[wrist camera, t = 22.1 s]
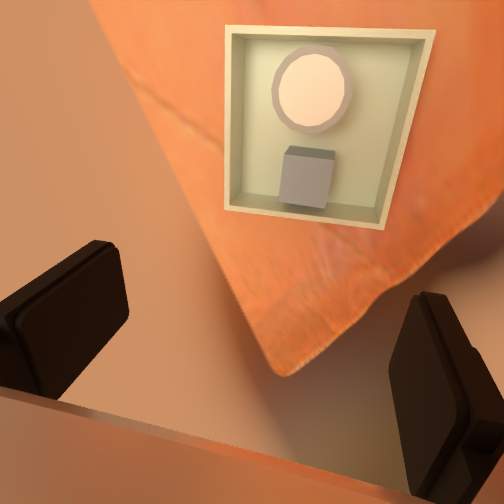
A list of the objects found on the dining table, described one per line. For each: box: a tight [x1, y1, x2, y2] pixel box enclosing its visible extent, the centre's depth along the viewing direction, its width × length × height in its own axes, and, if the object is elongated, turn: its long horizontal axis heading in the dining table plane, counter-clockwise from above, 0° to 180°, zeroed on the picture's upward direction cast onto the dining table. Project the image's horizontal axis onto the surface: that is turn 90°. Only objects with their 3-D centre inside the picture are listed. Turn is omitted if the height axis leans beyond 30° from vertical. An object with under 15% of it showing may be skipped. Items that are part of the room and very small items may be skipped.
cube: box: [278, 145, 335, 209], centre depth 35 cm, size 5×5×5 cm
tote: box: [224, 25, 436, 230], centre depth 33 cm, size 17×17×6 cm
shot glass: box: [271, 44, 352, 134], centre depth 30 cm, size 7×7×7 cm
